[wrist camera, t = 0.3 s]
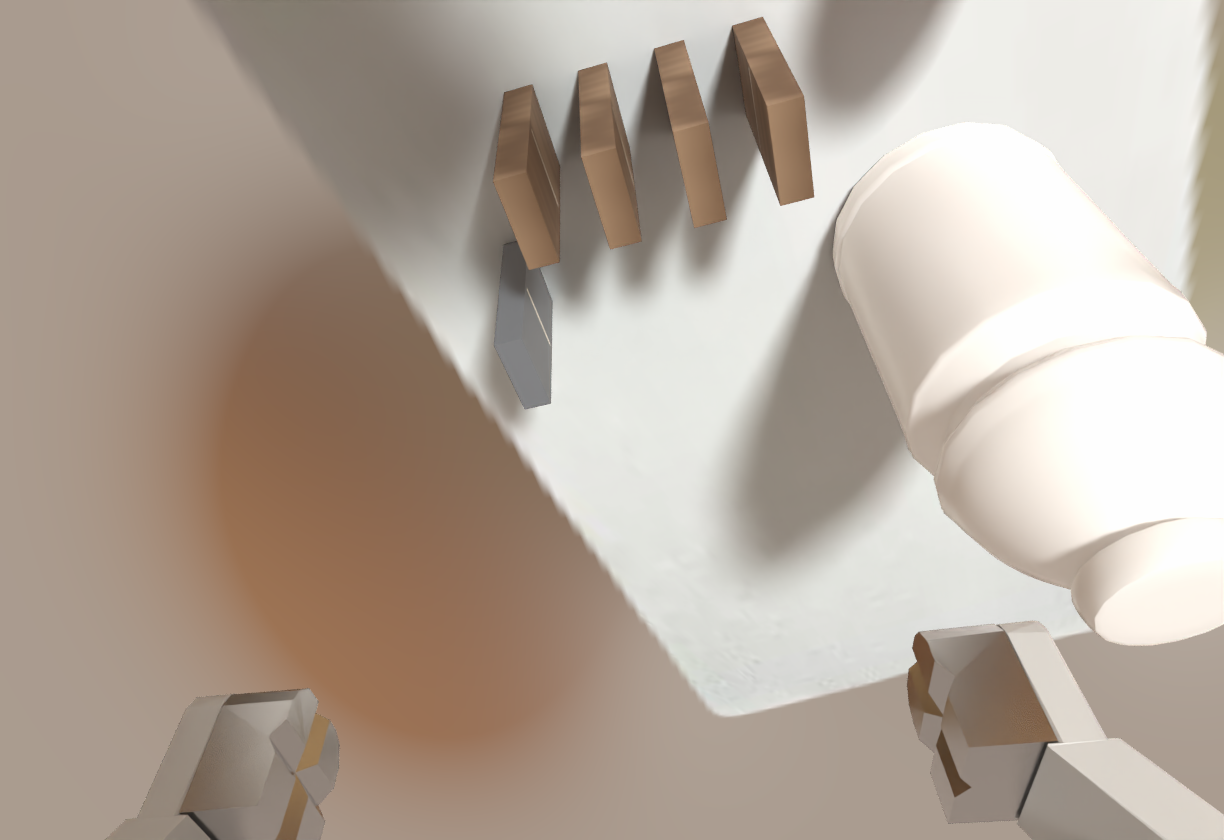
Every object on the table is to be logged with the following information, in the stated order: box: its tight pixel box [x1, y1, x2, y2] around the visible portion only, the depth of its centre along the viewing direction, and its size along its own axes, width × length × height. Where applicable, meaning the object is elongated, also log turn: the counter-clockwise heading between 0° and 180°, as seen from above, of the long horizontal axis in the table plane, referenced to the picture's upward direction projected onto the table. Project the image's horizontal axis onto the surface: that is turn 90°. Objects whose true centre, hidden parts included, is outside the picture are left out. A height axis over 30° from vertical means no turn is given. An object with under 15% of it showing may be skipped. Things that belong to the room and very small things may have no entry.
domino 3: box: [654, 40, 727, 228], centre depth 41 cm, size 2×5×10 cm, turn 16°
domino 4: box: [732, 17, 814, 206], centre depth 40 cm, size 2×5×10 cm, turn 15°
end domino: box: [494, 241, 553, 409], centre depth 49 cm, size 2×5×10 cm, turn 15°
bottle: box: [832, 122, 1224, 646], centre depth 41 cm, size 14×14×28 cm
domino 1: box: [493, 85, 560, 270], centre depth 42 cm, size 2×5×10 cm, turn 15°
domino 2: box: [578, 63, 642, 249], centre depth 41 cm, size 2×5×10 cm, turn 15°
